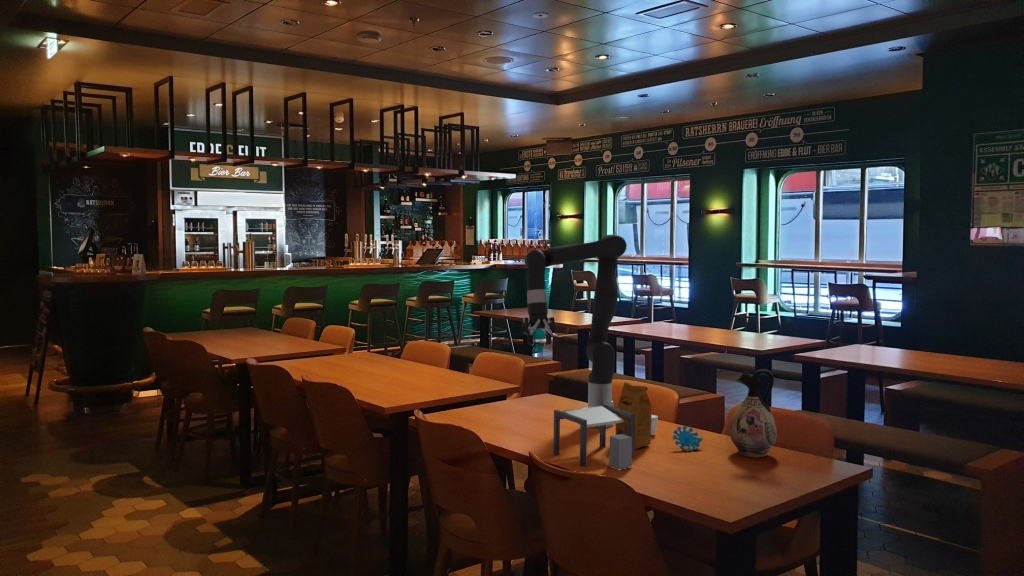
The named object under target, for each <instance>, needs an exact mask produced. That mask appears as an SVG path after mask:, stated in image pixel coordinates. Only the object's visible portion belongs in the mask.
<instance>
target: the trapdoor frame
mask: <svg viewBox="0 0 1024 576" xmlns="http://www.w3.org/2000/svg"><path fill="white" fill-rule="evenodd" d="M600 406H603V407H604V408H606V409H607V410H609V411H611V412H612V413H614V414H615V415H616V414H618V415H621V416H624V417H627V418H628V436H629V437H632V459H634V458H635V455H634V454H635V452H634V451H635V449H634V415H635V414H634V413H630V412H627V411H624V410H621V409H617V407H615V406H614V407H611V406H608V405H604V404H602V405H600ZM561 420H568V421H570V422H573V423H576V424H578V425H579V424H580V425H579V427H580V428H579V429H580V430H579V432H580V433H579V466H580V467H587V444H588V443H587V442H588V441H587V440H588V436H587V434H588V431H587V430H588V427H587V420H585V419H582V418H579V417H576V416H574V415H571V414H568V413H565V412H563V410H560V409H554V410H553V447H552V448H553V451H552V453H553V455H554V456H557V455H558V456H559V455H560V445H561V443H560V441H561V439H560V436H561ZM606 436H607V427H606V425H601V426H600V428H599V447H600V448H602V447H603V448H606V442H607V441H606ZM633 457H634V458H633Z"/></svg>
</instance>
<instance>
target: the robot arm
mask: <svg viewBox="0 0 1024 576" xmlns="http://www.w3.org/2000/svg"><path fill="white" fill-rule="evenodd" d="M625 252H627V242H626V240H625V238H624V237H623V236H621V235H618V234H615V233H614V234H613V233H612V234H606V235H603V236H602V237H601V239H599V240H596V241H590V242H585V243H584V242H583V243H572V244H564V245H559V246H553V247H550V248H548V249H544V250H541V249H537V248H536V249H532V250H530V251H528V253H527V254H526V255H525V257H524V265H525V267H526V268H527V273H528V274H527V279H526V286H527V295H526V298H527V299H526V300H527V301H526V302H527V314H528V317H527V316H526V317H522V318H521V333H522V334H523V335H526V341H527V345H528V346H533V345H534V336H533V333H534V331H536V329H537V330H542V331H543V332H544V333H545V345H548V346H549V345H552V343H553V342H552V339H553V338H552V335H553V334H555V333H556V322H555V317H554V316H553V317H548V313H549V312H548V296H547V289H546V276H545V275H546V268H548V267H552V266H559V265H565V264H570V263H575V262H579V261H584V260H589V259H597V258H598V260H597V261H598V266H597V274H596V278H595V279H596V281H595V287H594V289H595V290H594V295H593V304H592V314H591V315H592V316H591V324H590V325H591V326H590V332H589V335H588V340H587V345H586V358H587V359H588V360H589V361H590V362H591V363H592V364H591V365H592V366H591V372H590V373H589V374H588V379H587V380H588V381H587V382H588V385H587V387H588V388H587V390H588V393H587V398H588V399H587V408H588V407H596V406H600V405H602V404H604V405H608V406H611V407H614V408H615V406H614V403H615V402H614V400H613V398H612V395H613V392H612V391H613V377H614V374H615V363H616V361H615V360H616V359H615V358H616V356H615V355H616V354H615V349H614V346H612V345H611V344H610V343H608V336H609V328H610V325H611V322H612V320H613V319H614V316H615V314H616V311H617V307H618V298H619V286H618V279H617V264H618V258H619V257H622V256H623V255H624V254H625ZM611 426H614V424H608V425H606V428H610V427H611ZM593 428H599V429H600V426H594V427H593Z"/></svg>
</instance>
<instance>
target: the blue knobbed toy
mask: <svg viewBox="0 0 1024 576" xmlns="http://www.w3.org/2000/svg"><path fill="white" fill-rule="evenodd" d="M687 428H688V426H687V425H683V426H682V427H681V426H677V427H676V429H674V431H673V436H672V439H673V440H675V441H674V443H675V445H676V446H679V445H681V446H680V447H679V448H680V450H682V451H683V450H684V449H685V448H686V447H687V448H686V450H688V451H691V450H692V451H693V450H695V451H697V448H699V447H700V446H701V444H700V443H701V442H703V441H704V437H703V436H702V437H698V436H699V432H697V431H696V432H693V431H694V429H693V427H690V428H689V429H688V430H687ZM695 446H696V447H695ZM691 447H692V448H691ZM686 450H685V451H686ZM688 451H687V452H688Z"/></svg>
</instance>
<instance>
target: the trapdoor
mask: <svg viewBox="0 0 1024 576" xmlns="http://www.w3.org/2000/svg"><path fill="white" fill-rule="evenodd" d="M562 412H565V413H568V414H571V415H574V416H576V417H579V418H582V419H585V420H587V428H595V427H594V426H601V425H608V424H613V425H615V423H622V422H623V419H622V418H620V417H619V416H617V415H616V414H615V413H612V412H611V411H609V410H607V409H606V408H604V407H603V406H596V407H588V406H587V407H582V408H573V409H564V410H562ZM578 425H579V426H580V424H578Z"/></svg>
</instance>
